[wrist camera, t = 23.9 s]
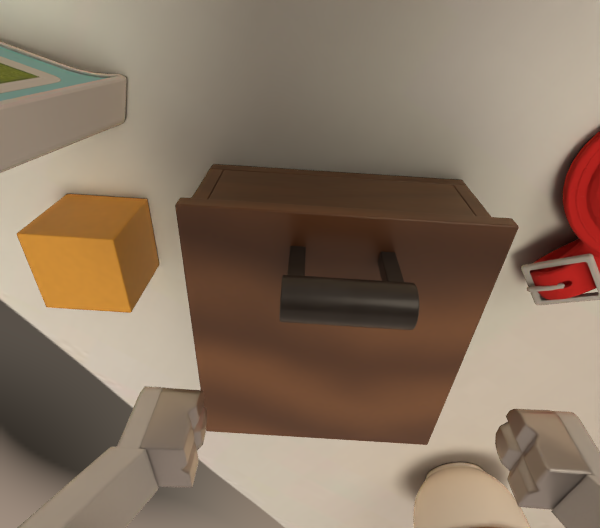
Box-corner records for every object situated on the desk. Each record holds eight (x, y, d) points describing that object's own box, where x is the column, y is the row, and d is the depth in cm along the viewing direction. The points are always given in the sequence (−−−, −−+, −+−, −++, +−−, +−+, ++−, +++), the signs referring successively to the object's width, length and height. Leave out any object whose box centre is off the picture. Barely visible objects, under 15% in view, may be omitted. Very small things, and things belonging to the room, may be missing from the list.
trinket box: (530, 473, 40) (581, 586, 33) (452, 510, 45) (480, 616, 38) (457, 436, 37) (494, 552, 29) (382, 481, 42) (397, 590, 35)
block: (66, 193, 24) (15, 233, 20) (147, 198, 24) (112, 240, 20) (87, 260, 27) (46, 307, 23) (159, 265, 27) (131, 313, 23)
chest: (212, 163, 23) (181, 212, 18) (462, 179, 23) (505, 233, 18) (226, 350, 32) (209, 420, 26) (406, 361, 32) (424, 433, 26)
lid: (179, 196, 17) (136, 259, 13) (512, 217, 17) (574, 287, 13) (208, 420, 26) (188, 499, 22) (424, 434, 26) (445, 515, 22)
